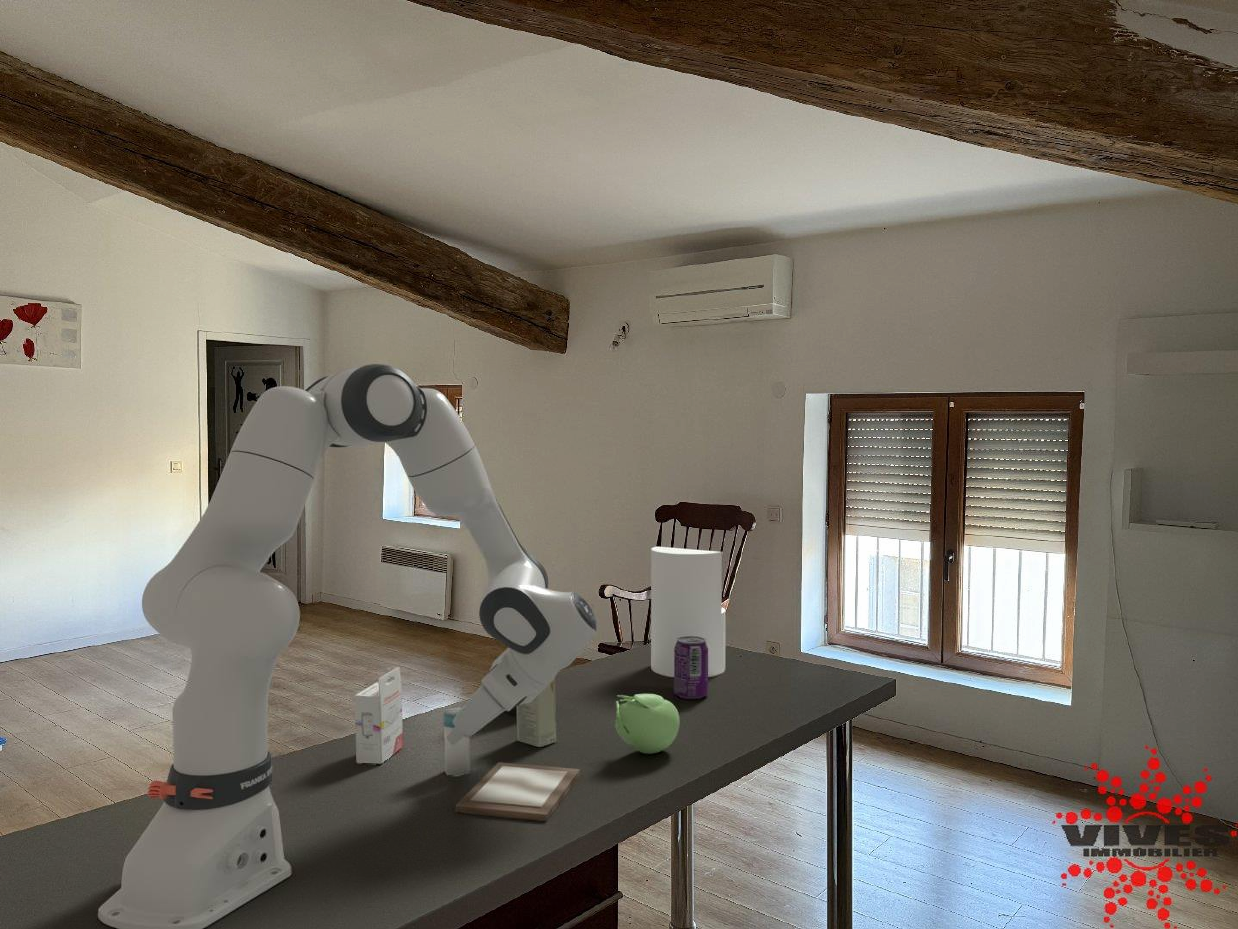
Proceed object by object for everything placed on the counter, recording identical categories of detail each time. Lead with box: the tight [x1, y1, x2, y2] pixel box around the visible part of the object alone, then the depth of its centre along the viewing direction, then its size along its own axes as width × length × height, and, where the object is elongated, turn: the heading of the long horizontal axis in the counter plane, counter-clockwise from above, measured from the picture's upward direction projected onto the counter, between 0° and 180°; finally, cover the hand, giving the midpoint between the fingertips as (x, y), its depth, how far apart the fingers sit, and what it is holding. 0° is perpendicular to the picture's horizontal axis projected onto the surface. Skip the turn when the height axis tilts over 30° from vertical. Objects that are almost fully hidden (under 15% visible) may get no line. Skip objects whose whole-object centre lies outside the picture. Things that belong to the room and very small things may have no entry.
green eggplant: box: [614, 693, 681, 755], centre depth 160 cm, size 12×11×11 cm
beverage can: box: [673, 636, 709, 700], centre depth 195 cm, size 7×7×12 cm
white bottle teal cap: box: [443, 707, 471, 775], centre depth 152 cm, size 4×4×10 cm
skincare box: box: [516, 678, 557, 748], centre depth 167 cm, size 6×4×12 cm
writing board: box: [454, 761, 581, 822], centre depth 143 cm, size 18×14×1 cm
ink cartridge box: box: [353, 666, 404, 764], centre depth 159 cm, size 9×5×15 cm, turn 168°
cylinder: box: [650, 546, 726, 678], centre depth 217 cm, size 17×17×28 cm
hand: (462, 731), depth 152 cm, fingers open, 8 cm apart
